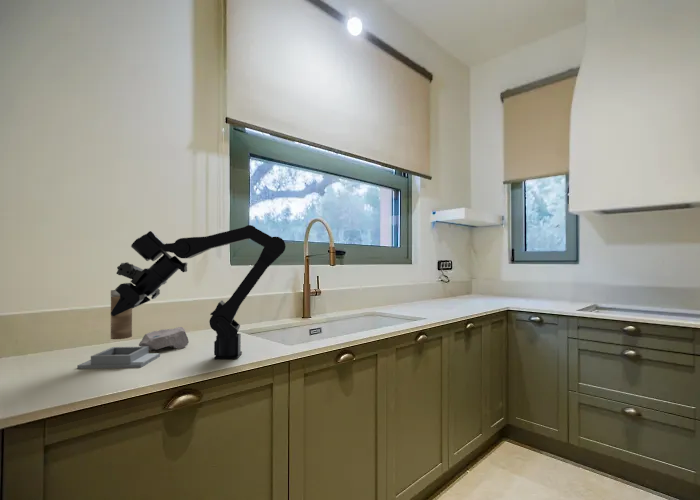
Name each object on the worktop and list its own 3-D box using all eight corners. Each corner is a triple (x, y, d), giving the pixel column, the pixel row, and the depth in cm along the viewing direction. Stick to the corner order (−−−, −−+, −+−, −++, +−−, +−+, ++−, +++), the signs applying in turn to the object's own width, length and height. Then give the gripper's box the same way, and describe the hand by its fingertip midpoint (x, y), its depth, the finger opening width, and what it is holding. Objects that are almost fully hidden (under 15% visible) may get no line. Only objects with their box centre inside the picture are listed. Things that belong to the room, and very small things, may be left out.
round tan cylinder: (136, 335, 104) (136, 289, 104) (120, 339, 99) (120, 291, 99) (122, 334, 105) (122, 289, 105) (105, 338, 100) (106, 290, 100)
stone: (144, 355, 110) (145, 334, 110) (138, 349, 117) (138, 330, 117) (191, 348, 118) (191, 330, 118) (182, 343, 126) (183, 325, 126)
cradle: (160, 356, 108) (160, 345, 108) (141, 367, 97) (141, 355, 97) (102, 357, 107) (103, 346, 107) (77, 368, 96) (77, 356, 96)
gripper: (148, 253, 112) (107, 290, 110) (124, 252, 94) (75, 296, 92) (176, 278, 114) (136, 316, 111) (158, 282, 96) (110, 327, 93)
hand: (116, 313), depth 102 cm, fingers closed on round tan cylinder, 5 cm apart
